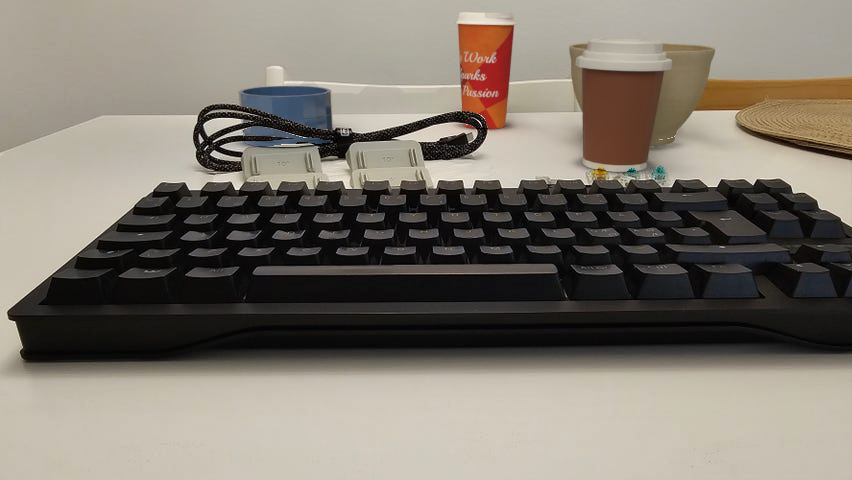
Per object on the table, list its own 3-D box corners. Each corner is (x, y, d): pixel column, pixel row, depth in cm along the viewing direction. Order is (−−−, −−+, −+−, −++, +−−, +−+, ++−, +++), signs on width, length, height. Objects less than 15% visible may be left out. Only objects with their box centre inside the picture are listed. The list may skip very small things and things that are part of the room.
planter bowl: (574, 126, 91) (580, 40, 87) (700, 134, 87) (712, 44, 83) (553, 148, 77) (558, 46, 73) (703, 159, 73) (718, 52, 69)
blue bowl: (227, 145, 76) (221, 94, 74) (269, 130, 85) (265, 84, 83) (312, 150, 74) (309, 98, 72) (346, 134, 83) (343, 87, 81)
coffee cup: (569, 172, 66) (577, 41, 62) (569, 153, 74) (576, 36, 70) (666, 177, 65) (682, 43, 61) (655, 157, 73) (668, 39, 69)
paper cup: (442, 125, 91) (442, 11, 86) (482, 119, 96) (484, 12, 91) (486, 132, 86) (489, 13, 81) (525, 126, 91) (530, 13, 86)
